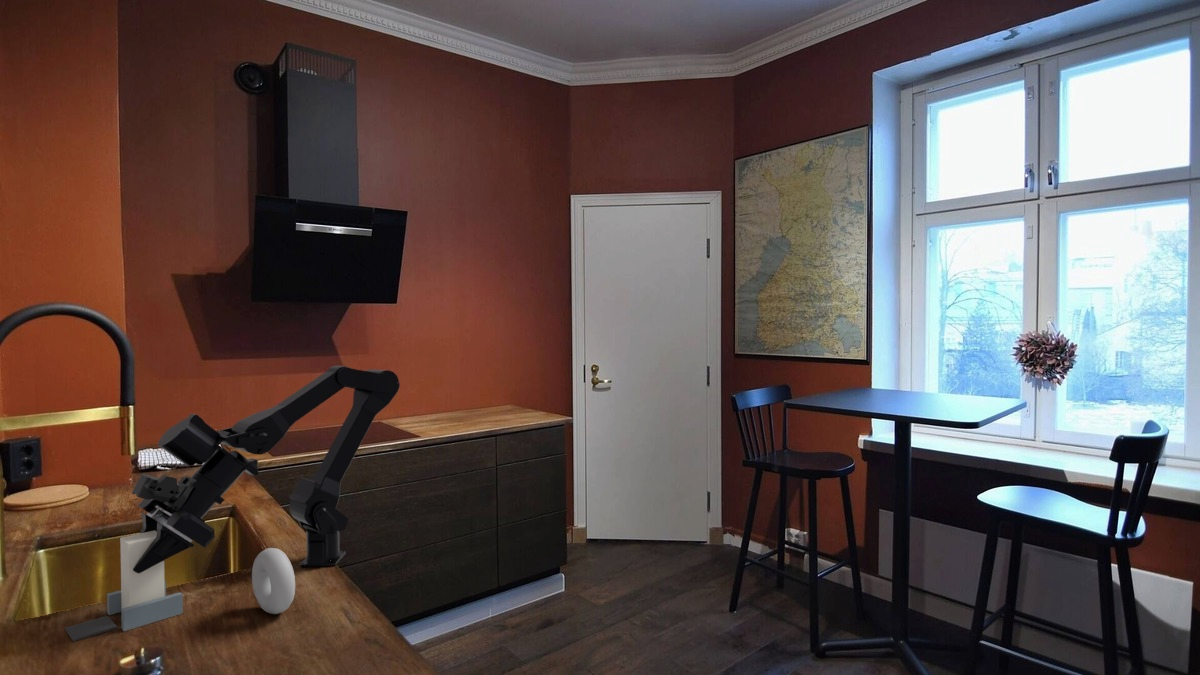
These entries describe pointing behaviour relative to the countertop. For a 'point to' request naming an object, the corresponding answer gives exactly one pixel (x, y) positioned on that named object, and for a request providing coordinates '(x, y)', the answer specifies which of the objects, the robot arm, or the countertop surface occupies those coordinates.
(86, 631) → the mat
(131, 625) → the channel
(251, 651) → the countertop surface
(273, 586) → the donut
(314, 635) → the countertop surface
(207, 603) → the countertop surface
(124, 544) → the block
